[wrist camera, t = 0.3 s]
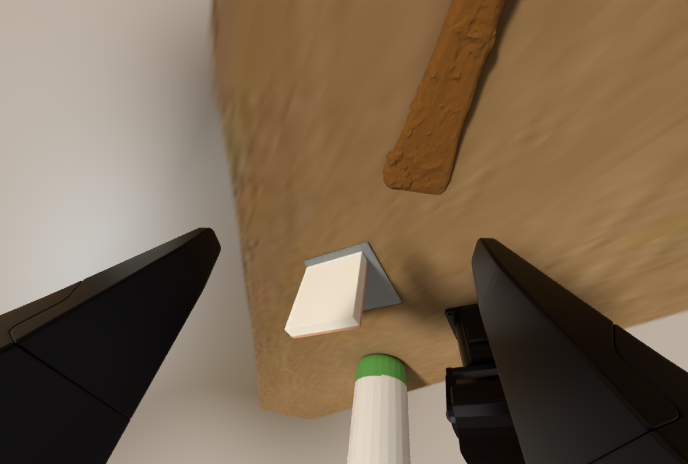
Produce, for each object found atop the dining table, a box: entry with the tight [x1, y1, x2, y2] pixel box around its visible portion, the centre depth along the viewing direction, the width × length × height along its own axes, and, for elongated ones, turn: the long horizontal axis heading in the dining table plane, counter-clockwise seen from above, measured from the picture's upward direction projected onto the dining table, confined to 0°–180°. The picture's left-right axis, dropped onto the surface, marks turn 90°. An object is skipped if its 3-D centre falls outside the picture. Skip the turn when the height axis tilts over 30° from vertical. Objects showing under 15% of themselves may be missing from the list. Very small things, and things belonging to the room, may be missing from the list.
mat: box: [304, 242, 402, 310], centre depth 30 cm, size 10×8×1 cm
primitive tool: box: [383, 0, 506, 194], centre depth 15 cm, size 19×6×4 cm, turn 175°
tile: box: [285, 251, 368, 338], centre depth 25 cm, size 2×7×8 cm, turn 117°
